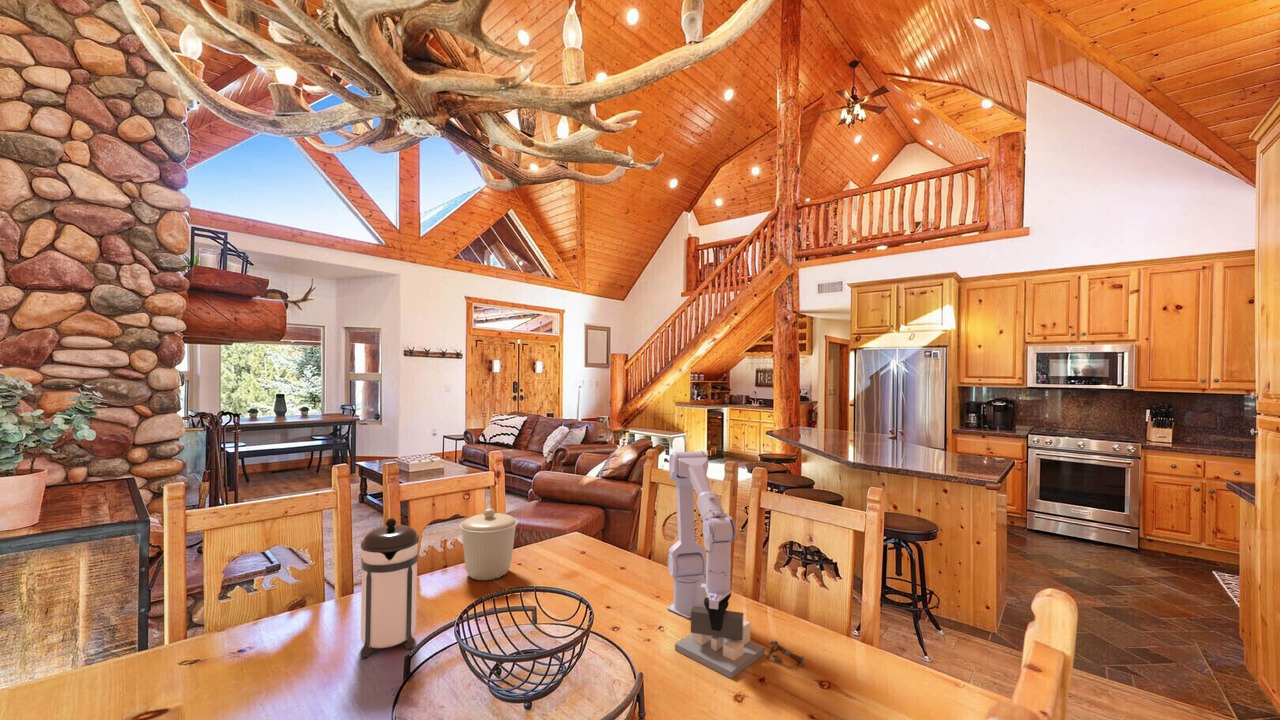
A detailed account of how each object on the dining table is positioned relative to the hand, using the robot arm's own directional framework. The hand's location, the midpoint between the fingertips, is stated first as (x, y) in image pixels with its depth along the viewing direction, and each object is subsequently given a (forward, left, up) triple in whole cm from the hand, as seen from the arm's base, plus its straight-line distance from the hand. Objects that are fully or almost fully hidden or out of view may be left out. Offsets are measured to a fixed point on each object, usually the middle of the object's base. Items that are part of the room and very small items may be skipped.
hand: (717, 626), depth 122 cm
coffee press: (+53, -60, -7) cm, 80 cm away
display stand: (-1, 0, -6) cm, 6 cm away
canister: (+15, -79, -7) cm, 81 cm away
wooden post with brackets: (-8, +13, -7) cm, 17 cm away
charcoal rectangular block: (0, 0, -2) cm, 2 cm away
